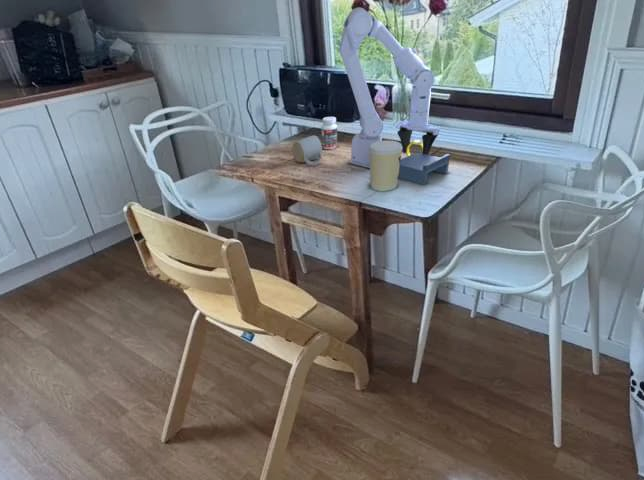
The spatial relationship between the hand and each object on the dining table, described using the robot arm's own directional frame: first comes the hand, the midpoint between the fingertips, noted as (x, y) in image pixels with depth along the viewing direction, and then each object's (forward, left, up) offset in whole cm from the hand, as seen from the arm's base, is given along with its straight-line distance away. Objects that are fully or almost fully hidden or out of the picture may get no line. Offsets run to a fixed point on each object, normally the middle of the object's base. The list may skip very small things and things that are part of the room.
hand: (415, 154), depth 169 cm
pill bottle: (-33, -6, -2) cm, 34 cm away
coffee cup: (+6, -24, -2) cm, 25 cm away
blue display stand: (+9, -10, -2) cm, 14 cm away
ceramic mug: (-28, -21, -2) cm, 35 cm away
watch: (0, 0, -2) cm, 2 cm away
